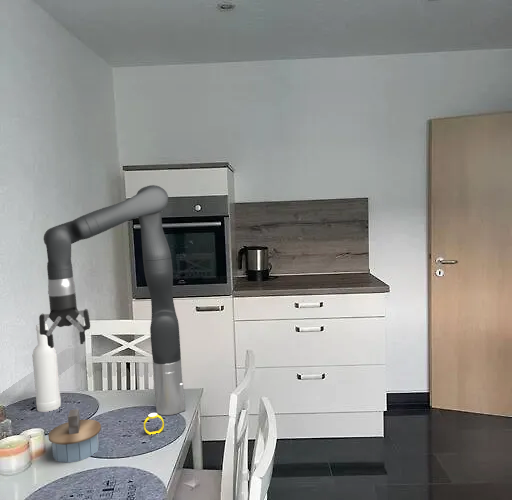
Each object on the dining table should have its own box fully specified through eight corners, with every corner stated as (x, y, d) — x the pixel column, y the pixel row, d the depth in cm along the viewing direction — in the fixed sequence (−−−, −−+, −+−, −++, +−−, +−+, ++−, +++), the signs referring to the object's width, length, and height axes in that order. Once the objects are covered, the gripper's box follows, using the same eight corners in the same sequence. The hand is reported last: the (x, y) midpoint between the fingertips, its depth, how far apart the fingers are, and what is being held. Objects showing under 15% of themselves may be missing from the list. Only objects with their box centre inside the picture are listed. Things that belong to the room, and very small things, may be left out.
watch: (145, 437, 147) (142, 418, 147) (144, 434, 150) (141, 415, 149) (165, 432, 149) (162, 414, 148) (164, 429, 152) (161, 410, 151)
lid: (102, 419, 148) (100, 400, 148) (99, 439, 135) (97, 419, 134) (52, 426, 145) (51, 407, 144) (44, 448, 131) (42, 427, 131)
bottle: (58, 411, 171) (50, 325, 168) (34, 413, 169) (26, 328, 167) (63, 402, 178) (56, 320, 176) (40, 404, 177) (33, 322, 175)
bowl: (99, 438, 148) (98, 421, 147) (97, 457, 136) (95, 438, 135) (57, 445, 145) (55, 427, 144) (50, 465, 133) (48, 445, 133)
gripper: (87, 288, 154) (92, 339, 156) (38, 293, 151) (43, 345, 152) (86, 292, 147) (90, 345, 148) (34, 297, 143) (40, 351, 145)
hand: (67, 345), depth 150 cm, fingers open, 8 cm apart
